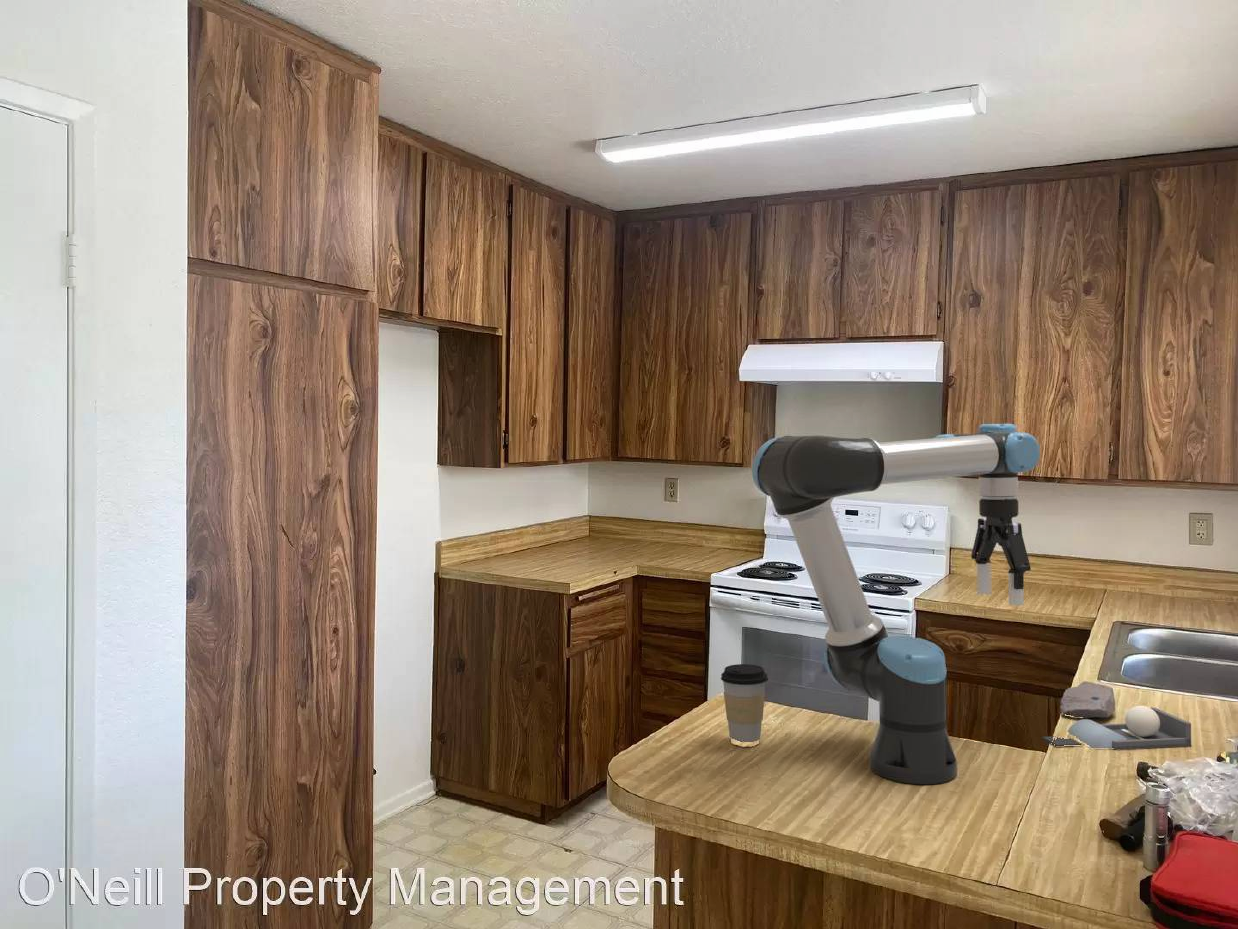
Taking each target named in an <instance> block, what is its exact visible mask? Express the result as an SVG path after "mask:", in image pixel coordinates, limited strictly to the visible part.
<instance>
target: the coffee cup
mask: <svg viewBox="0 0 1238 929" xmlns="http://www.w3.org/2000/svg"><path fill="white" fill-rule="evenodd" d="M720 680H721V681H722V683H723V696H724V697H723V698H724V705H725V706H724V707H725V708H724V709H725V713H726V720H727V725H728V732H729V733H728V734H729V738H730V737H731V738H732V739H735V740H737V741H740V742H754V741H757V740H759V739H760V740H761V734H762V725H763V724H762V722H763V719H764V718H763V717H764V708H765V697H766V692H765V687H766V683H767V681H769V678H768V674H767V673H766V672H765V669H764V667H762V666H760V665H756V664H748V663H746V664H745V663H743V664H742V663H741V664H740V663H739V664H731V665H728V666H725V668H724V670H723V672H722V673H721V677H720Z"/></svg>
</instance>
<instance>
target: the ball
mask: <svg viewBox="0 0 1238 929" xmlns="http://www.w3.org/2000/svg"><path fill="white" fill-rule="evenodd" d="M1151 708H1152V707H1149V706H1146V705H1135V706H1132V707H1131V708H1129V709H1128V710H1127V712H1126V714H1125V716H1124V717H1125V718H1124V721H1125V723H1126V725H1127V727H1128V728H1129V730H1130V731H1131V732H1132V733H1134V734H1136V735H1138V736H1142V737H1148V736H1152V735H1154V734H1155V733H1156V732H1157V731H1158V729H1159V727H1160V719H1159V717H1158V715H1157V714H1156V712H1155V711H1154V710H1152V709H1151Z"/></svg>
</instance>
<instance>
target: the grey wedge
mask: <svg viewBox="0 0 1238 929" xmlns="http://www.w3.org/2000/svg"><path fill="white" fill-rule="evenodd" d="M1067 732H1069V733H1070V734H1071V735H1073V736H1076V738H1078V739H1079V740H1080V741H1082V742H1084V743H1086V744H1087V745H1089V746H1090V747H1091V748H1112V741H1121V740H1127V739H1126V738H1125V737H1123V736H1122V735H1120V734H1118V733H1116V732H1114V731H1112V730H1110V729H1108V728H1106V727H1104V726H1102V724H1100V723H1098V722H1096V721H1094V720H1092V719H1089V718H1082V719H1079V720H1077V721H1075V722H1073V723H1072V725H1071V726H1069V728H1068V730H1067ZM1091 748H1090V749H1091Z"/></svg>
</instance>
